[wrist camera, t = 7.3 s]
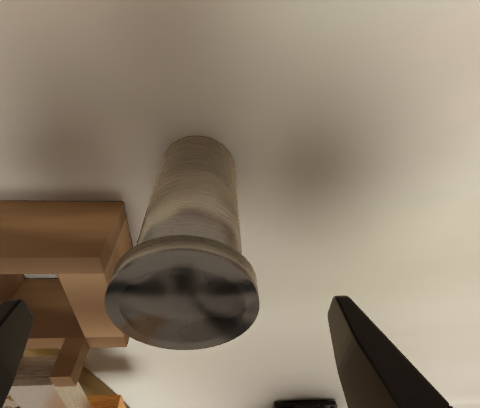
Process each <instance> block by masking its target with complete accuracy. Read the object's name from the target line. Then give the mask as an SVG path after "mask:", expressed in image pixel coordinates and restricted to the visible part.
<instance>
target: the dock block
mask: <svg viewBox="0 0 480 408" xmlns="http://www.w3.org/2000/svg"><path fill="white" fill-rule="evenodd" d="M132 248H133V246H132V241H131V236H130V232H129V227H128V222H127V218H126V213H125V208H124V204H123V202H79V201H0V304H1V303H2V302H4V301H5V300H8V299H23V300H24V301H25V302H26V304H27V305H28V307H29V309H30V311H31V312H32V314H33V317H34V322H33V326H32V329H31V332H30V335H29V338H28V341H27V344H26V348H25V349H48V348H61V350H60V352H59V354H58V357H57V359H56V361H55V364H54V366H53V368H52V371H51V373H50V375H49V378H50V380H51V381H52V383H53V384H54V386H55V387H69V386H76V385H77V382H78V379H79V376H80V373H81V371H82V368H83V365H84V362H85V359H86V356H87V354H88V351H89V348H95V347H127V344H128V340H129V336H128V335H126V334H125V333H123V332H122V331H121V330H119V329H118V328H117V327H116V326H115V325H114V324H113V323H112V321H111V320H110V319H109V317H108V315H107V313H106V310H105V306H104V298H105V293H106V290H107V287H108V285H109V282H110V279H111V276H112V273H113V271H114V268H115V266H116V264H117V262H118V261H119V260H120V258H121V257H122V256H123V255H124V254H125V253H126V252H127V251H129V250H130V249H132ZM22 274H57V275H58V277H59V279H24V277H23V275H22Z"/></svg>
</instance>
